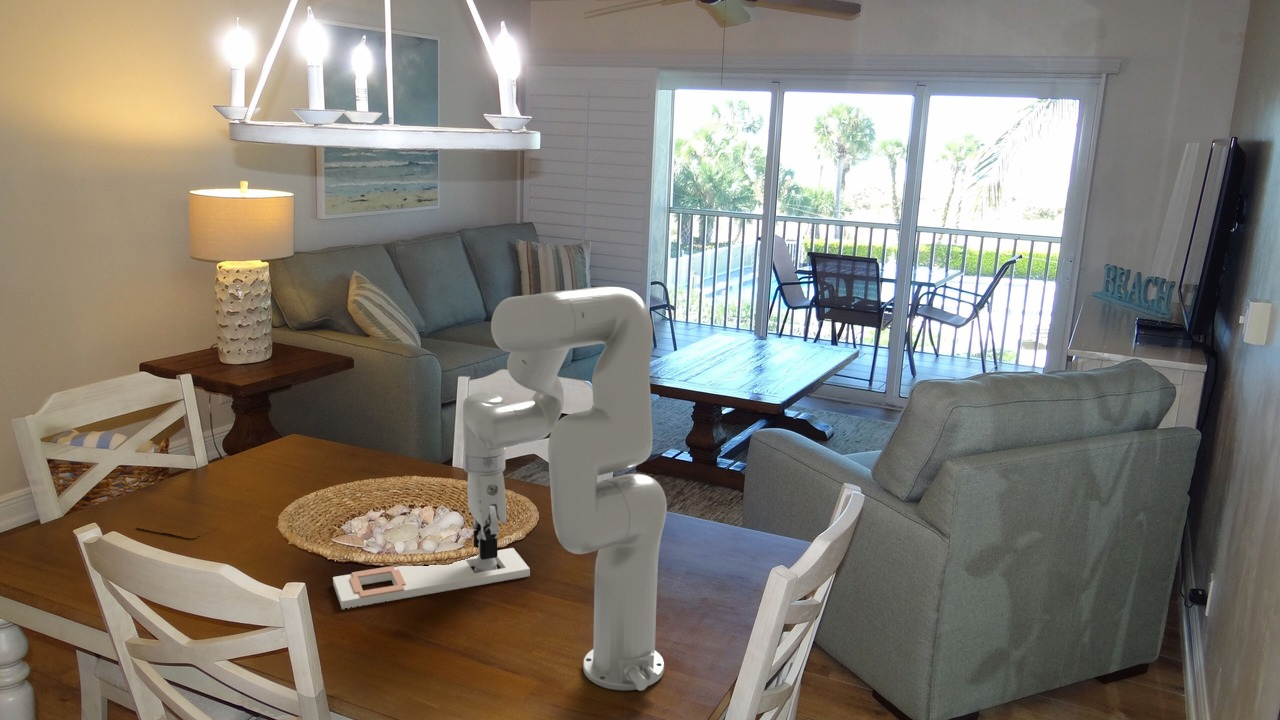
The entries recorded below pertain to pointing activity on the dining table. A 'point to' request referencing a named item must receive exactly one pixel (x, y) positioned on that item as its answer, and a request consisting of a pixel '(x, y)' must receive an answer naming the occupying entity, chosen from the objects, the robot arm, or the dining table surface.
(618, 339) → the robot arm
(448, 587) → the white board with slots
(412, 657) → the dining table surface
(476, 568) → the rook chess piece
